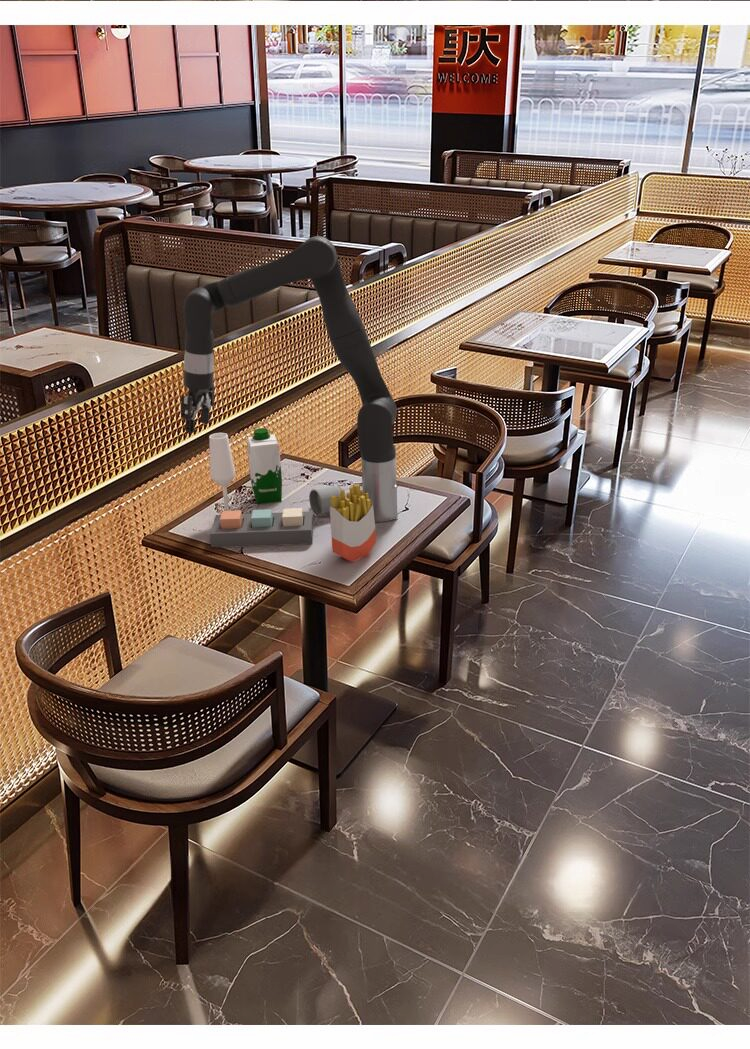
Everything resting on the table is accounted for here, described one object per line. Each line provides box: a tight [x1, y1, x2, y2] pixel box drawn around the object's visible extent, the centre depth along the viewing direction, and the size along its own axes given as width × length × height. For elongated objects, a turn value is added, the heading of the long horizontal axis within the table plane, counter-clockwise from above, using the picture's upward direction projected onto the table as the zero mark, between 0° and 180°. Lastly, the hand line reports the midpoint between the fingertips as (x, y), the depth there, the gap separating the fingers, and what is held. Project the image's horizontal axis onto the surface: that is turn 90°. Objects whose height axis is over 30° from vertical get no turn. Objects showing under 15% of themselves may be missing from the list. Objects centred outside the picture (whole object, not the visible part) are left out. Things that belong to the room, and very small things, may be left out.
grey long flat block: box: [209, 510, 315, 548], centre depth 226 cm, size 26×11×4 cm, turn 92°
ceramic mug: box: [308, 485, 343, 517], centre depth 238 cm, size 11×8×8 cm
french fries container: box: [330, 483, 377, 563], centre depth 211 cm, size 5×11×18 cm, turn 133°
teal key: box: [251, 508, 274, 528], centre depth 224 cm, size 5×5×3 cm
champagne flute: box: [209, 432, 236, 515], centre depth 232 cm, size 7×7×24 cm
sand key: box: [282, 507, 304, 526], centre depth 224 cm, size 5×5×3 cm
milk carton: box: [247, 427, 283, 505], centre depth 244 cm, size 9×9×20 cm
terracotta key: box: [220, 509, 243, 529], centre depth 224 cm, size 5×5×3 cm
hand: (197, 427), depth 228 cm, fingers open, 8 cm apart
